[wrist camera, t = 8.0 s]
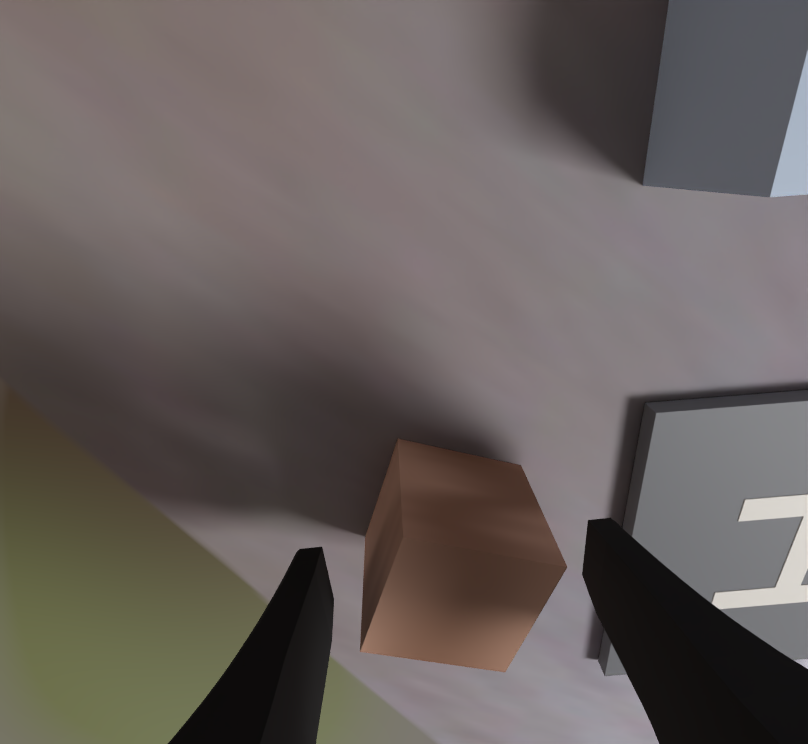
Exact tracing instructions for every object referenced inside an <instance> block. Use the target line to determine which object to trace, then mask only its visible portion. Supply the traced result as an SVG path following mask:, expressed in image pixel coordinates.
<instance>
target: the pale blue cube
mask: <svg viewBox="0 0 808 744" xmlns="http://www.w3.org/2000/svg"><path fill="white" fill-rule="evenodd" d="M643 186H654V187H664V188H675V189H686V190H697V191H708V192H718V193H729V194H740V195H751V196H762V197H780V196H793V195H805V194H808V0H669V4H668V11H667V18H666V25H665V32H664V39H663V46H662V53H661V60H660V67H659V74H658V81H657V88H656V95H655V102H654V109H653V116H652V123H651V130H650V137H649V144H648V151H647V158H646V165H645V171H644V178H643Z"/></svg>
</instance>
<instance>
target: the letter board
mask: <svg viewBox="0 0 808 744" xmlns="http://www.w3.org/2000/svg"><path fill="white" fill-rule="evenodd" d="M622 528H623V529H624V530H625V531H626V532H627V533H628V534H630V535H631V536H632V537H633V538H634V539H635V540H636V541H637V542H639V543H640V544H641V545H642V546H643V547H644V548H645V549H646V550H648V551H649V552H650V553H651V554H652V555H653V556H654V557H656V558H657V559H658V560H659V561H660V562H661V563H663V564H664V565H665V566H666V567H667V568H668V569H670V570H671V571H672V572H673V573H674V574H676V575H677V576H678V577H679V578H680V579H682V580H683V581H684V582H685V583H686V584H688V585H689V586H690V587H691V588H693V589H694V590H695V591H696V592H698V593H699V594H700V595H701V596H703V597H704V598H705V599H706V600H708V601H709V602H710V603H712V604H713V605H714V606H716V607H717V608H718V609H720V610H721V611H722V612H724V613H725V614H726V615H728V616H729V617H730V618H732V619H733V620H734V621H736V622H737V623H739V624H740V625H741V626H743V627H744V628H746V629H747V630H749V631H750V632H752V633H753V634H754V635H756V636H757V637H759V638H760V639H762V640H763V641H765V642H766V643H768V644H769V645H771V646H772V647H774V648H775V649H777V650H778V651H780V652H781V653H783V654H784V655H786V656H787V657H789V658H791V659H792V660H797V659H808V390H798V391H786V392H774V393H761V394H749V395H736V396H724V397H711V398H699V399H686V400H674V401H661V402H649V403H645V406H644V412H643V417H642V423H641V428H640V434H639V439H638V445H637V450H636V456H635V461H634V467H633V472H632V478H631V483H630V489H629V494H628V500H627V505H626V511H625V516H624V522H623V527H622ZM598 662H599V664H600V666H601V668H602V671H603V673H604V675H605V676H612V675H624V674H627V673H626V671H625V669H624V667H623V665H622V663H621V661H620V659H619V657H618V655H617V653H616V651H615V649H614V647H613V645H612V643H611V641H610V639H609V637H608V635H607V633H606V631H605V629H604V632H603V638H602V643H601V649H600V654H599V660H598Z"/></svg>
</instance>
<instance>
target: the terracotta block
mask: <svg viewBox="0 0 808 744" xmlns="http://www.w3.org/2000/svg"><path fill="white" fill-rule="evenodd" d="M566 568H567V565H566V563H565V561H564V559H563V557H562V554H561V552H560V550H559V548H558V546H557V543H556V541H555V539H554V537H553V535H552V532H551V530H550V528H549V526H548V524H547V521H546V519H545V517H544V515H543V513H542V510H541V508H540V506H539V504H538V502H537V499H536V497H535V495H534V493H533V491H532V488H531V486H530V484H529V482H528V480H527V477H526V475H525V473H524V471H523V469H522V467H521V465H517V464H512V463H508V462H503V461H498V460H494V459H489V458H485V457H480V456H476V455H471V454H466V453H462V452H457V451H453V450H448V449H443V448H439V447H434V446H430V445H425V444H421V443H416V442H411V441H407V440H402V439H397V442H396V445H395V448H394V452H393V455H392V458H391V461H390V464H389V467H388V470H387V473H386V476H385V479H384V482H383V485H382V488H381V491H380V494H379V497H378V500H377V503H376V506H375V509H374V512H373V515H372V518H371V521H370V524H369V527H368V530H367V533H366V536H365V557H364V578H363V600H362V622H361V643H360V652H366V653H373V654H380V655H387V656H394V657H401V658H408V659H415V660H422V661H429V662H436V663H443V664H450V665H458V666H465V667H472V668H479V669H486V670H493V671H500V672H506V670H507V668H508V667H509V665H510V663H511V662H512V660H513V658H514V656H515V655H516V653H517V651H518V650H519V648H520V646H521V645H522V643H523V641H524V640H525V638H526V636H527V634H528V633H529V631H530V629H531V628H532V626H533V624H534V623H535V621H536V619H537V618H538V616H539V614H540V612H541V611H542V609H543V607H544V606H545V604H546V602H547V601H548V599H549V597H550V596H551V594H552V592H553V590H554V589H555V587H556V585H557V584H558V582H559V580H560V579H561V577H562V575H563V574H564V572H565V570H566Z"/></svg>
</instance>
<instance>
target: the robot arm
mask: <svg viewBox="0 0 808 744" xmlns="http://www.w3.org/2000/svg"><path fill="white" fill-rule="evenodd" d="M582 575H583V578H584V581H585V584H586V586H587V589H588V592H589V595H590V597H591V600H592V603H593V605H594V608H595V610H596V613H597V615H598V617H599V619H600V621H601V623H602V625H603V627H604V629H605V631H606V633H607V635H608V637H609V639H610V641H611V643H612V645H613V647H614V649H615V651H616V653H617V655H618V657H619V659H620V661H621V663H622V665H623V667H624V669H625V671H626V673H627V675H628V677H629V679H630V681H631V683H632V685H633V687H634V689H635V691H636V693H637V695H638V697H639V699H640V701H641V703H642V705H643V707H644V709H645V711H646V713H647V716H648V718H649V720H650V722H651V724H652V727H653V729H654V731H655V734H656V736H657V739H658V741H659V744H808V669H807V668H805V667H803V666H802V665H800V664H798V663H797V662H795V661H794V660H792V659H791V658H789V657H787V656H786V655H784V654H783V653H781V652H780V651H778V650H777V649H775V648H774V647H772V646H771V645H769V644H768V643H766V642H765V641H763V640H762V639H760V638H759V637H757V636H756V635H754V634H753V633H752V632H750V631H749V630H747V629H746V628H744V627H743V626H741V625H740V624H739V623H737V622H736V621H734V620H733V619H732V618H730V617H729V616H728V615H726V614H725V613H724V612H722V611H721V610H720V609H718V608H717V607H716V606H714V605H713V604H712V603H710V602H709V601H708V600H706V599H705V598H704V597H703V596H701V595H700V594H699V593H698V592H696V591H695V590H694V589H693V588H691V587H690V586H689V585H688V584H686V583H685V582H684V581H683V580H682V579H680V578H679V577H678V576H677V575H676V574H674V573H673V572H672V571H671V570H670V569H668V568H667V567H666V566H665V565H664V564H663V563H661V562H660V561H659V560H658V559H657V558H656V557H654V556H653V555H652V554H651V553H650V552H649V551H648V550H646V549H645V548H644V547H643V546H642V545H641V544H640V543H639V542H637V541H636V540H635V539H634V538H633V537H632V536H631V535H630V534H628V533H627V532H626V531H625V530H624V529H623V528H622V527H621V526H619V525H618V524H617V523H616V522H615V521H614V520H613V519H611V518H605V519H595V520H588V526H587V535H586V545H585V554H584V563H583V572H582ZM333 609H334V597H333V593H332V589H331V584H330V580H329V575H328V571H327V567H326V562H325V558H324V553H323V549H322V547H315V548H305V549H299V550H298V551H297V552H296V554H295V556H294V558H293V560H292V562H291V564H290V566H289V568H288V570H287V572H286V574H285V576H284V578H283V579H282V581H281V583H280V585H279V587H278V589H277V590H276V592H275V594H274V596H273V597H272V599H271V601H270V603H269V604H268V606H267V608H266V609H265V611H264V613H263V614H262V616H261V618H260V619H259V621H258V623H257V624H256V626H255V628H254V629H253V631H252V632H251V634H250V635H249V637H248V638H247V640H246V641H245V643H244V644H243V646H242V647H241V649H240V650H239V652H238V654H237V655H236V657H235V658H234V659H233V661H232V662H231V664H230V665H229V667H228V668H227V670H226V671H225V672H224V674H223V675H222V676H221V678H220V679H219V681H218V682H217V683H216V685H215V686H214V687H213V689H212V690H211V691H210V693H209V694H208V695H207V697H206V698H205V699H204V700H203V702H202V703H201V704H200V705H199V707H198V708H197V709H196V710H195V712H194V713H193V714H192V715H191V717H190V718H189V719H188V721H186V723H185V724H184V725H183V727H182V728H181V729H180V730H179V731H178V732H177V734H176V735H175V736H174V737H173V738H172V740H171V741H170V742H169V743H168V744H316V739H317V731H318V725H319V719H320V713H321V706H322V700H323V694H324V688H325V681H326V675H327V668H328V661H329V655H330V649H331V642H332V629H333Z"/></svg>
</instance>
